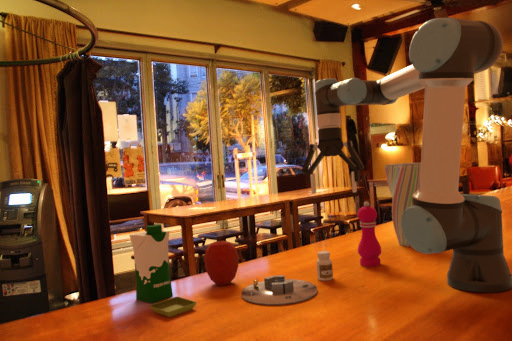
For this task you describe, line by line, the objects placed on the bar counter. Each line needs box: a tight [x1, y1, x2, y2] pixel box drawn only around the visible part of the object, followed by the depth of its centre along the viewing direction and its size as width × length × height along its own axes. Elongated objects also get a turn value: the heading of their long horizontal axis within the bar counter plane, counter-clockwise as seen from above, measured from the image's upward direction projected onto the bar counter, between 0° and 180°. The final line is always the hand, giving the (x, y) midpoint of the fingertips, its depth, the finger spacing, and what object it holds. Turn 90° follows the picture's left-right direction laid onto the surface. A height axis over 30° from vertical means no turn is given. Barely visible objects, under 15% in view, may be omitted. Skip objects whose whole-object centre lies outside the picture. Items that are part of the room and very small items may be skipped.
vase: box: [384, 162, 421, 247], centre depth 167 cm, size 14×14×30 cm
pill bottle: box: [316, 250, 334, 282], centre depth 130 cm, size 4×4×8 cm
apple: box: [203, 236, 239, 287], centre depth 132 cm, size 10×10×14 cm
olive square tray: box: [148, 296, 198, 318], centre depth 112 cm, size 9×9×2 cm
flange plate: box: [241, 274, 318, 306], centre depth 120 cm, size 20×20×4 cm
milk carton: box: [129, 224, 174, 305], centre depth 123 cm, size 9×9×20 cm
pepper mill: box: [357, 201, 382, 268], centre depth 143 cm, size 7×7×20 cm
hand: (334, 192), depth 147 cm, fingers open, 13 cm apart
